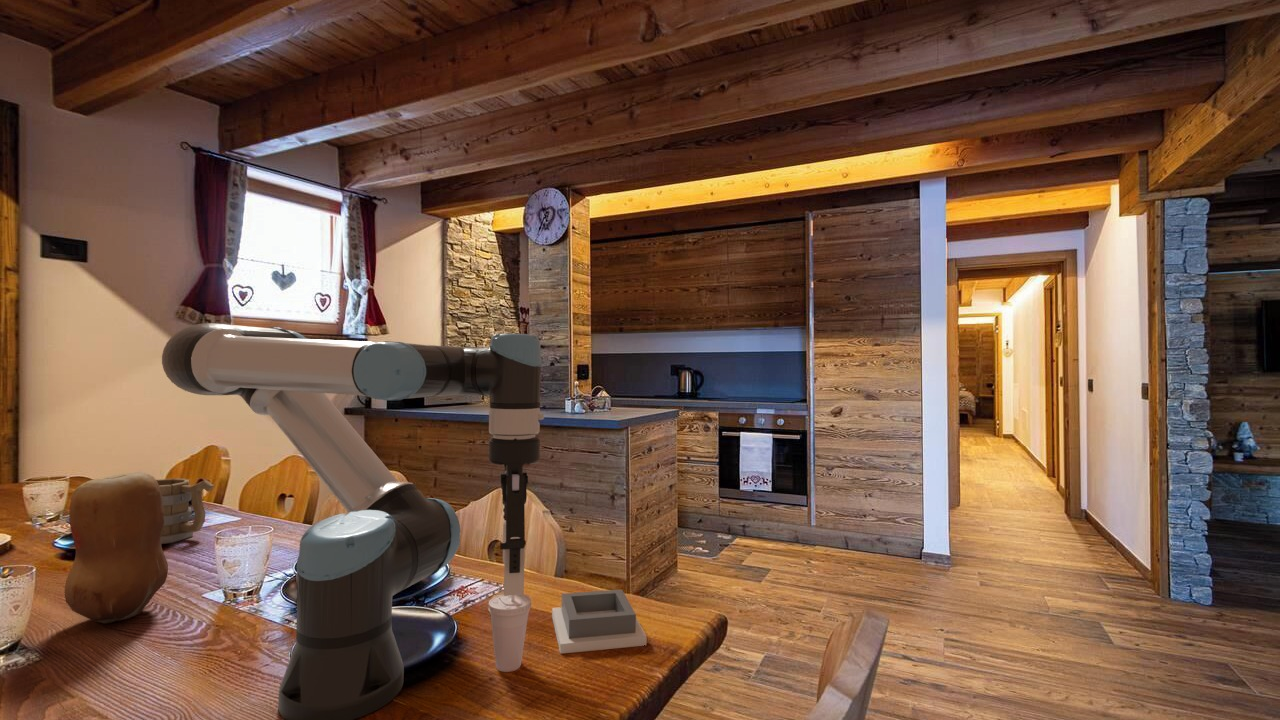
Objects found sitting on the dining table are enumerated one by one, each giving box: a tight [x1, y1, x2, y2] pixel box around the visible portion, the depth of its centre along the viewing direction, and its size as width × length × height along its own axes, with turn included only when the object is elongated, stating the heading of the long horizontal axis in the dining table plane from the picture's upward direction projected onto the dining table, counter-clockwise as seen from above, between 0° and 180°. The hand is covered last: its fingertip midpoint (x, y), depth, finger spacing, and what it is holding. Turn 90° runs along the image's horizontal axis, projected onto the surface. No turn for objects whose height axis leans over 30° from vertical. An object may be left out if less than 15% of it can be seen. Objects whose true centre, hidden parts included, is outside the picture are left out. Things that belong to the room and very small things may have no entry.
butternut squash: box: [64, 471, 169, 625], centre depth 100 cm, size 14×13×25 cm
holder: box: [551, 588, 648, 655], centre depth 99 cm, size 14×14×4 cm
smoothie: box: [487, 593, 532, 673], centre depth 87 cm, size 6×6×14 cm
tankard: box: [156, 478, 215, 545], centre depth 145 cm, size 20×13×15 cm, turn 80°
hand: (512, 577), depth 87 cm, fingers open, 13 cm apart
